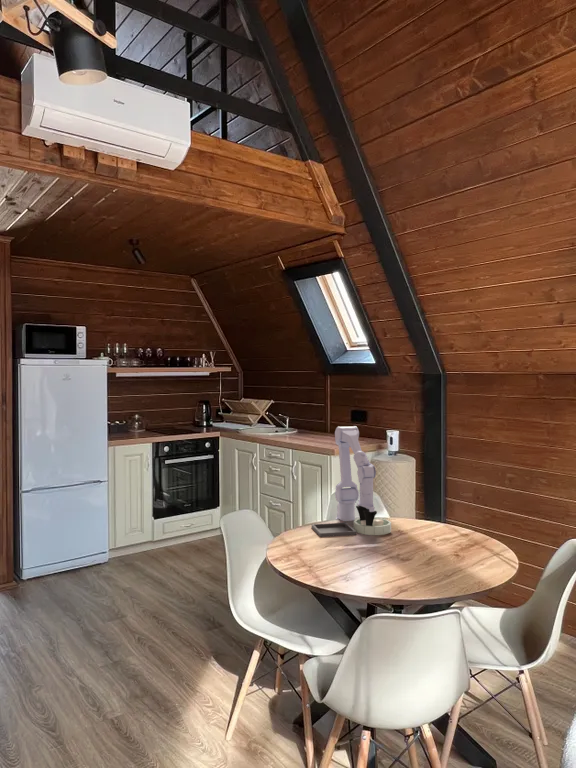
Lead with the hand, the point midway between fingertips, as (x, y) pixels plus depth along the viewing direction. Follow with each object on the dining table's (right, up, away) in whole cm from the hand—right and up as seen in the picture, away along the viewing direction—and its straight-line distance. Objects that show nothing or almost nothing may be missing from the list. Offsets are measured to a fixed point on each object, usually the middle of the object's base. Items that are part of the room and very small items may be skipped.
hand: (366, 524), depth 248 cm
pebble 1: (0, -2, 0) cm, 2 cm away
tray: (-14, -3, -2) cm, 15 cm away
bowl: (+3, -3, +1) cm, 4 cm away
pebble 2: (+5, -2, +1) cm, 6 cm away
